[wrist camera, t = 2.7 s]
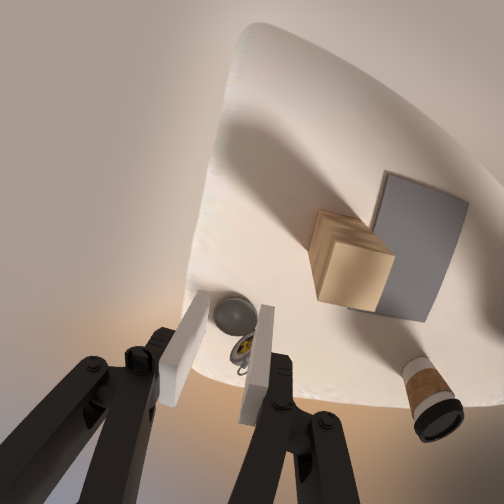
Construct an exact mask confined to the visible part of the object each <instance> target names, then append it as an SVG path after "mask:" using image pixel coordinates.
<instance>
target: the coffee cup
mask: <svg viewBox="0 0 504 504" xmlns="http://www.w3.org/2000/svg"><path fill="white" fill-rule="evenodd" d="M402 377H403V380H404V384H405V387H406V392H407V396H408V400H409V404H410V408H411V412H412V417H413V419H414V421H415V424H414V429H415V432H416V434H417V435H418V436H419V438H420V440H421V441H422V442H423V443H429V442H433V441H437V440H439V439H442V438H444V437H446V436H447V435H449V434H451V433H452V432H454V431H455V430H456V429H457V428H458V427H459V426H460V425H461V423H462V422H463V419H464V412H463V406H462V404H461V402H460V401H459V400H458V399H455V395H454V393H453V392H452V390H451V389H450V387H449V386H448V385H447V383H446V382H445V380H444V379H443V378H442V376H441V375H440V374H439V372H438V371H437V370H436V368H435V367H434V365H433V364H432V363H431V361H430V360H429V359H428V358H426V357H418V358H415V359H413V360H412V361H410V362H409V363H408V364H407V365H406V366H405V367H404V369H403V372H402Z"/></svg>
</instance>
